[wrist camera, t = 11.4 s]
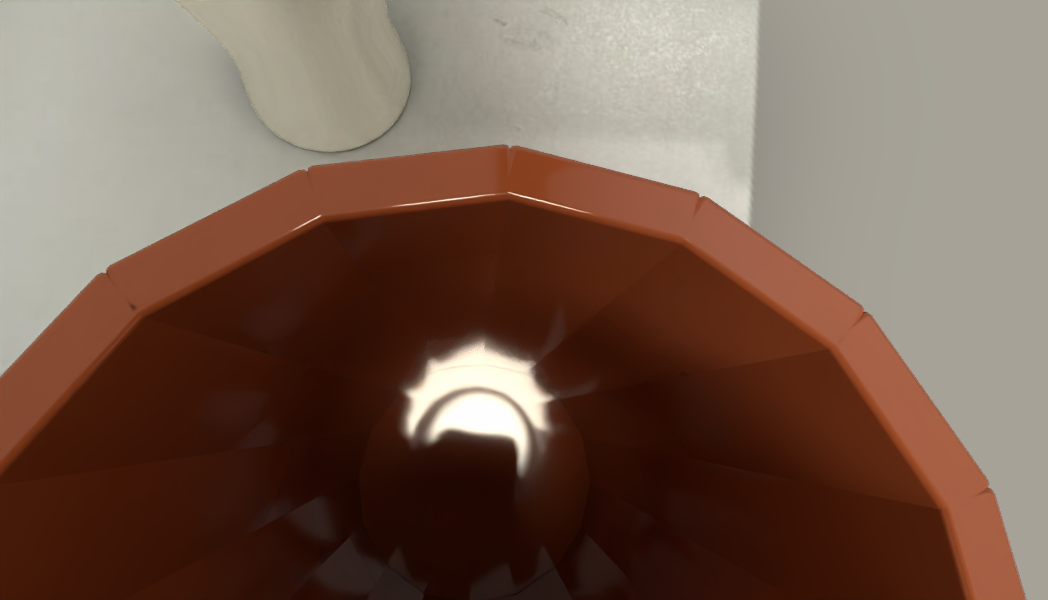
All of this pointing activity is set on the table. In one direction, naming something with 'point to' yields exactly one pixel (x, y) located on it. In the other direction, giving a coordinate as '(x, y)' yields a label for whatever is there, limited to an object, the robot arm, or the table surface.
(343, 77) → the beer glass
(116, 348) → the terracotta cup
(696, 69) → the table surface
